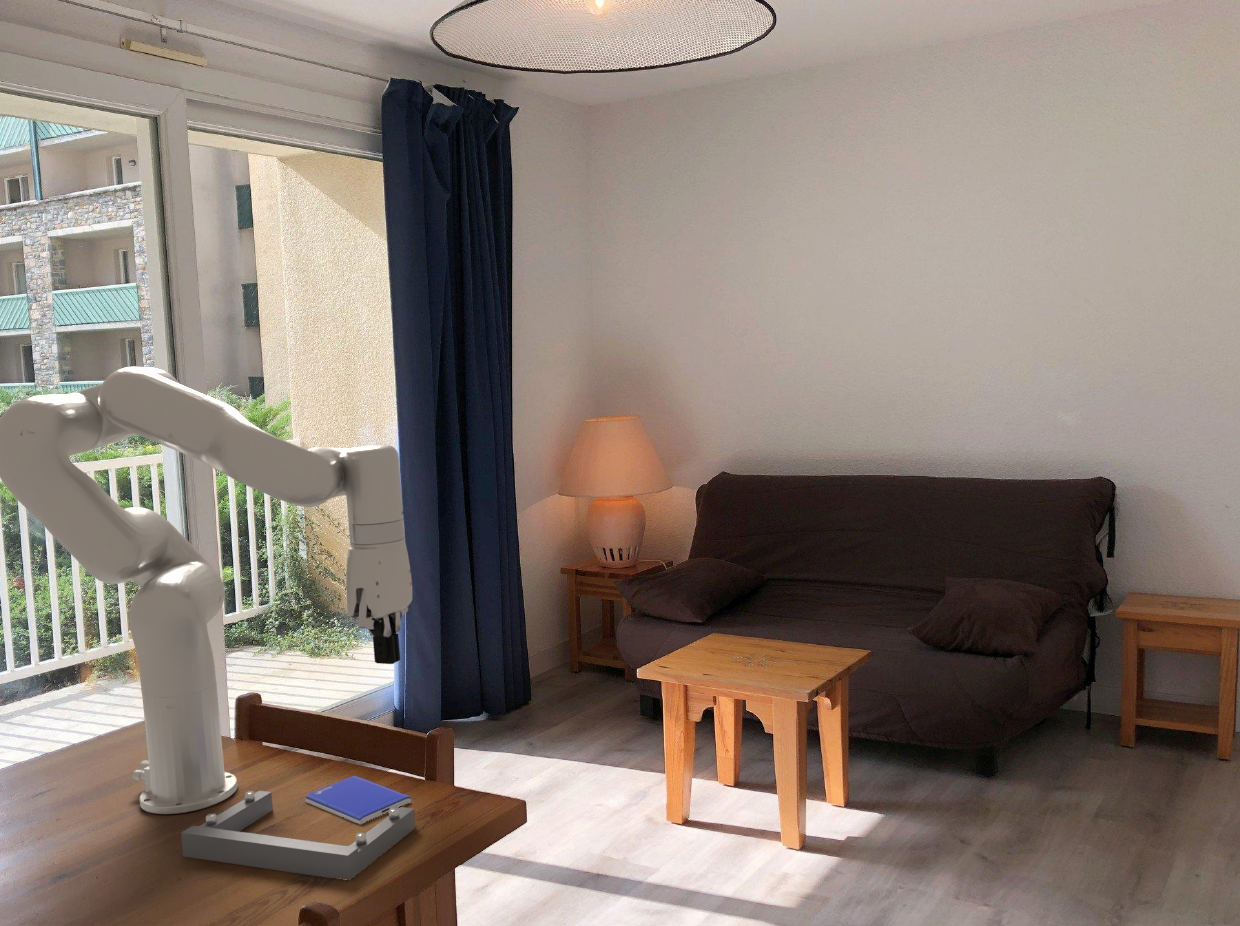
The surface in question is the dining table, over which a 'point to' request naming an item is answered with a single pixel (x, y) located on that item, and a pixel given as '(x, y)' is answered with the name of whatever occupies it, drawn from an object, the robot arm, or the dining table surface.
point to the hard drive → (357, 799)
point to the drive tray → (289, 842)
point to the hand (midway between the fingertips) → (387, 661)
